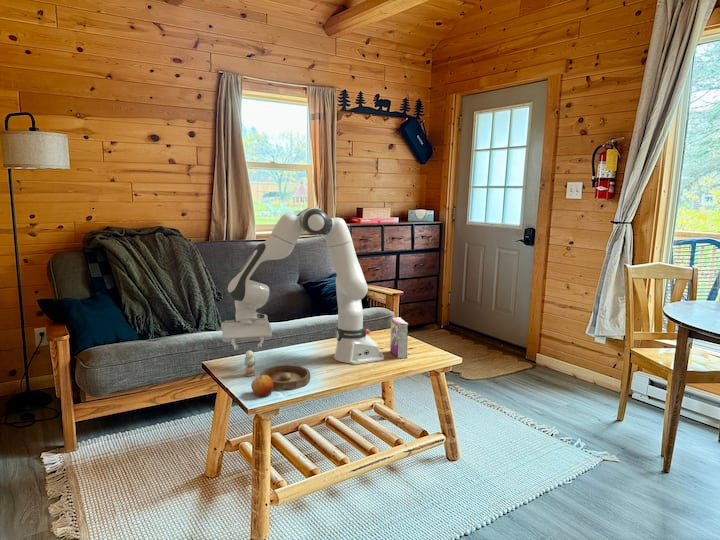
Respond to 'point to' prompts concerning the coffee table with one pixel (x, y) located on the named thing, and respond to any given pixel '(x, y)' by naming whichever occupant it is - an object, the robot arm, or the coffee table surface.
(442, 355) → the coffee table surface
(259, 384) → the fruit
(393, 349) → the candy bar box
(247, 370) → the bead column
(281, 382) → the walnut tray
